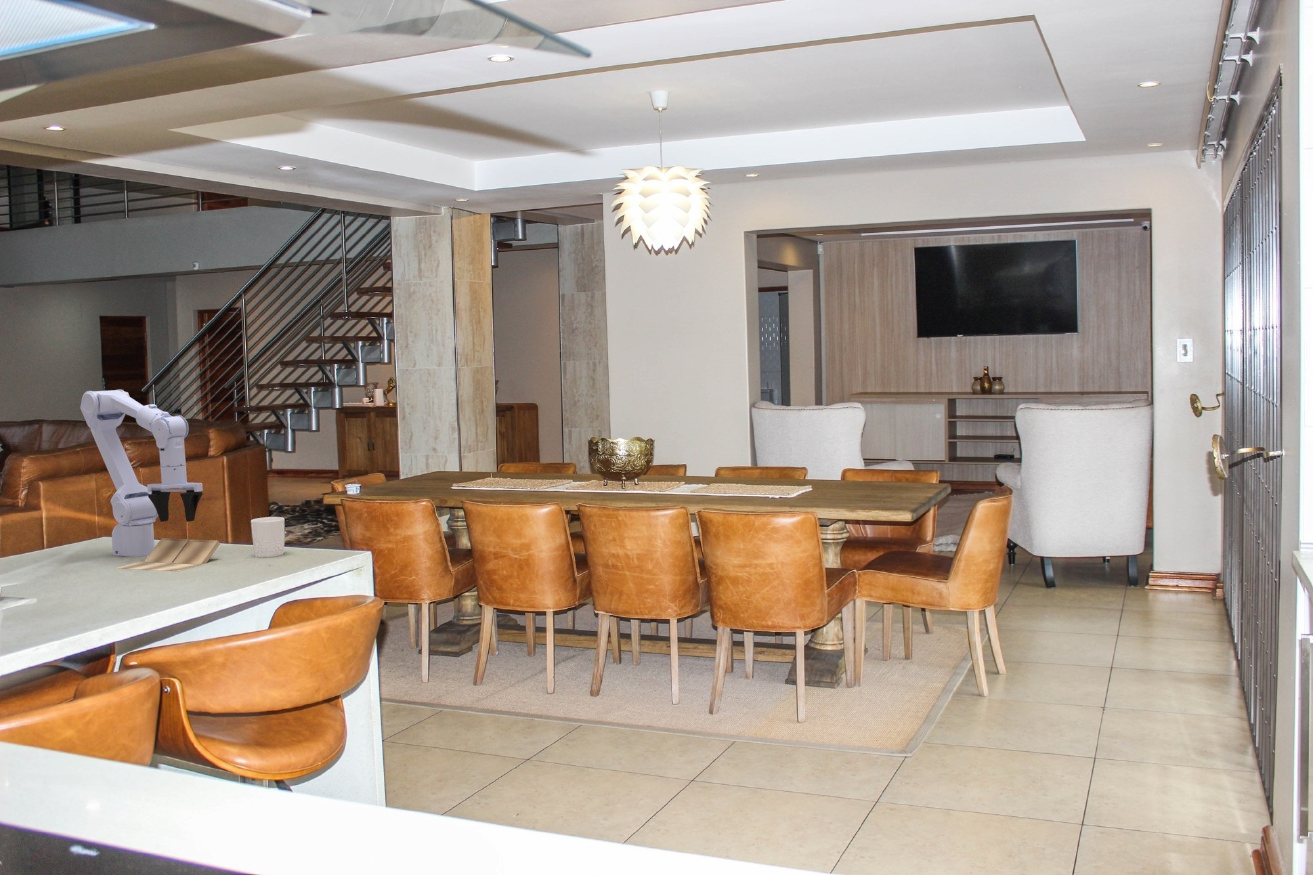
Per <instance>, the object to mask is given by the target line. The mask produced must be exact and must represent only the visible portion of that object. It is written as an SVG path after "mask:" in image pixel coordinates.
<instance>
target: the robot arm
mask: <svg viewBox="0 0 1313 875" xmlns="http://www.w3.org/2000/svg"><path fill="white" fill-rule="evenodd" d="M79 408H80V410H81V413H82V415H83V418H84V420H85V422H86V425H87V427H89V429H90V432H91V434H92V437H93V438H94V442H95V444H96V446H97V449H98V451H99V452H100V455H101V458H102V460H103V462H104V464H105V467H106V469H107V471H108V473H109V476H110V478H111V480H112V483H113V485H114V487H115V490H116V491H115V493H113V496H111V499H110V501H109V502H110V504H111V506H112V514H113V517H114V520H116V522H117V523H118V524H116V525H115V526H114V527H113V529H112V532H111V545H112V556H116V557H117V556H119V557H120V556H121V557H131V558H132V557H144V556H149V554H150V553H151V552H152V550H153V549H154V548H155V547H156V546H155V532H154V523H155V522H157V521H156V519H159V521H160V522H161V523H164V522H168V521H169V516H170V514H169V512H170V511H169V503H170V502H169V501H170V496H171V493H173V492H179V495H180V498H181V501H182V504H183V507H184V516H185V521H186V522H194V521H195V519H196V513H197V508H198V505H199V502H200V500H201V498H202V496H203V490H204V488H203V483H202V482H188V476H187V474H188V473H187V463H186V450H185V449H186V448H185V439H186V438H187V436H188V434H189V422H188V421H187V420H186V418H185V417H184V416H182V415H175V416H172V415H170V413H169V412H168V411H163V410H162V409H159V408H158V405H156V404H154V403H151V404H146V405H143V404H141V403H140V402H138V401H136V400H135V399H134V398H132V397H130V394H129V392H127V391H124V389H115V390H112V389H111V390H98V391H97V390H95V391H94V390H93V391H92V390H86V391H85V392H84V393H83V394H82V397H81V403H80V407H79ZM126 415H127V416H130V417H132V418H134V419H135V421H136V423H137V425H138V426H140V427H141V428H143V429H145V430H147V431H149V432H151V433H152V436H153V437H154V439H155V444H156V447H157V448H158V450H159V451H158V453H159V462H160V465H159V466H160V477H161V483H160V482H159V483H149V484H146V485H147V486H145V485H143V484H142V483H140V482H139V480H138V477H137V475H136V474H135V470H134V469H133V467H132V465H131V464H132V463H131V462H130V460H129V458H128V456H127V453H126V450H125V447H124V446H123V445H122V444H123V443H122V441H121V439H120V437H119V435H118V433H117V431H116V430H117V427H119V426H121V424H122V422H123V420H124V419H125V416H126ZM180 492H182V493H180Z"/></svg>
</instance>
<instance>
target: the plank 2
mask: <svg viewBox="0 0 1313 875" xmlns="http://www.w3.org/2000/svg"><path fill="white" fill-rule="evenodd" d="M220 545H221V543H220V541H219V540H217V539H216V540H215V539H214V540H213V539H212V540H210V539H209V540H208V539H189V542H188V543H187V545H186V546H185V547H184V549H183V550H182V552H181V553H180V554H179V556H178V557H177V558H176V560H175V561H174V562H173V563H176V564H197V565H200V566H202V565H204V564H207V563H208V561H209V560H210V559H211V558H212V556H213V554H214V553H215V552H216V550H218V547H220Z"/></svg>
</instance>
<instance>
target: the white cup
mask: <svg viewBox="0 0 1313 875" xmlns="http://www.w3.org/2000/svg"><path fill="white" fill-rule="evenodd" d="M250 526H251V537H252V543H253V550H254V556H255V557H256V558H271V557H273V558H274V557H278V556H283V555H284V554H285V549H284V548H285V534H286V533H285V518H284V517H282V516H281V517H280V516H268V517H267V516H265V517H259V518H257V517H256V518H253V519H251V520H250Z"/></svg>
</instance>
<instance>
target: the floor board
mask: <svg viewBox="0 0 1313 875" xmlns="http://www.w3.org/2000/svg"><path fill="white" fill-rule="evenodd" d="M200 566H201V565H199V564H178V563H157V562H144V561H138V562H134V563H130V564H126V565H123V566H122V565H121V566H118V567H115V569H121V570H137V571H139V570H140V571H158V572H159V571H160V572H177V573H179V572H182V571H185V570H188V569H192V568H195V567H200Z"/></svg>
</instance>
